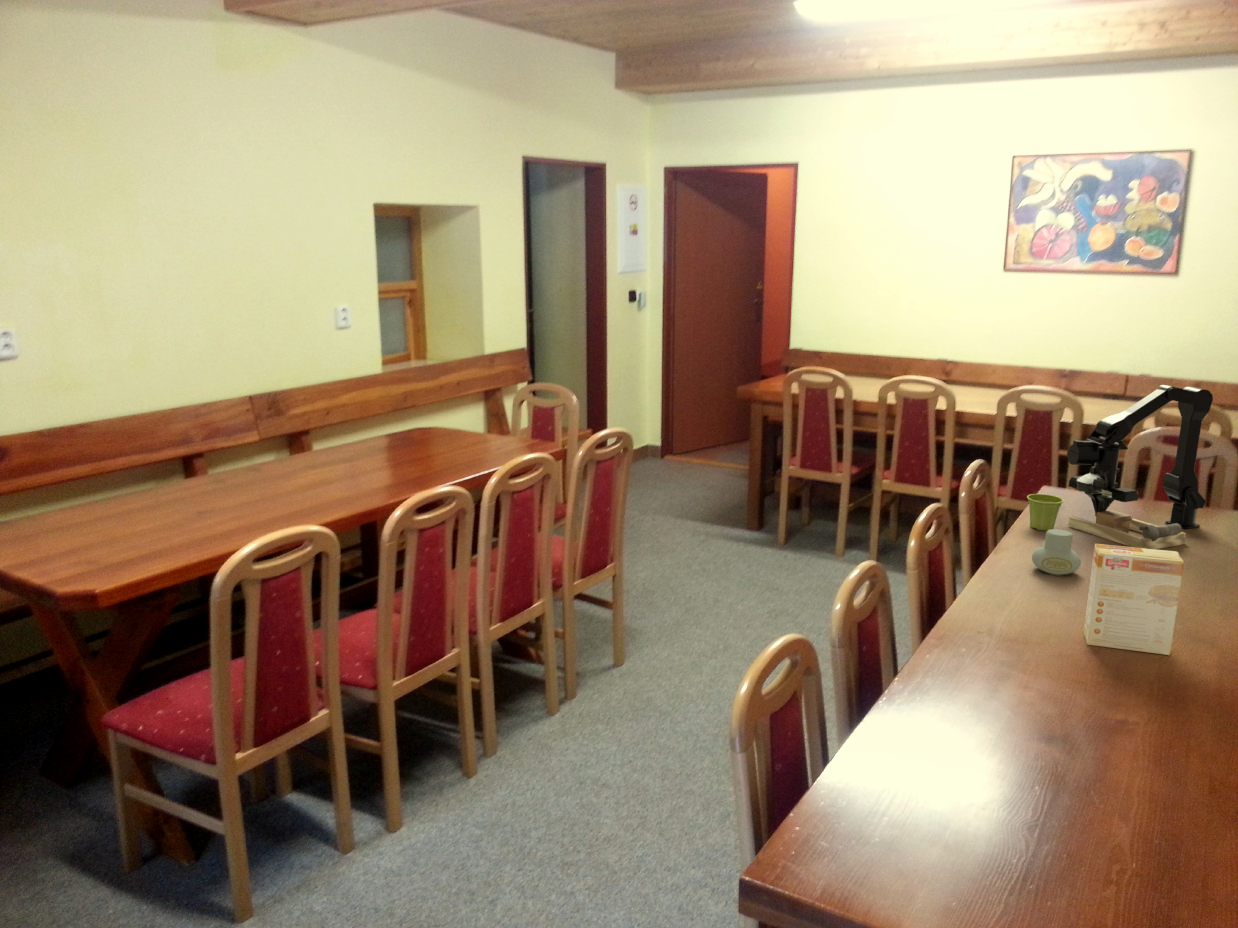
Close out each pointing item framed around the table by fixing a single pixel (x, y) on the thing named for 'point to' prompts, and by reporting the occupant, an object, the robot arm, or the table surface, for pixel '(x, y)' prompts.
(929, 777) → the table surface
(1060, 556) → the air freshener
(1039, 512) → the plant pot
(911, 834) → the table surface
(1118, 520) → the box
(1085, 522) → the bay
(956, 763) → the table surface
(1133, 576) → the coffeecake box
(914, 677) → the table surface
